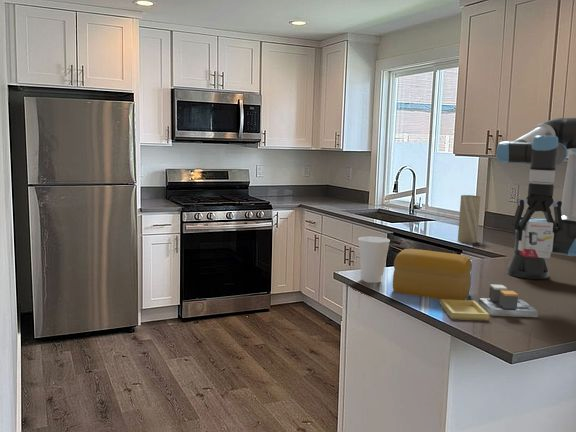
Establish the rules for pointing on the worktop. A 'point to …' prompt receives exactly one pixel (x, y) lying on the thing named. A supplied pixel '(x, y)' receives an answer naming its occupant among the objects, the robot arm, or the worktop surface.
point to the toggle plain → (496, 292)
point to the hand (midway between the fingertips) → (534, 250)
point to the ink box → (537, 239)
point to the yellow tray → (464, 310)
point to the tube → (468, 218)
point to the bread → (432, 274)
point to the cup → (373, 257)
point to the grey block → (508, 299)
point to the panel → (497, 310)
